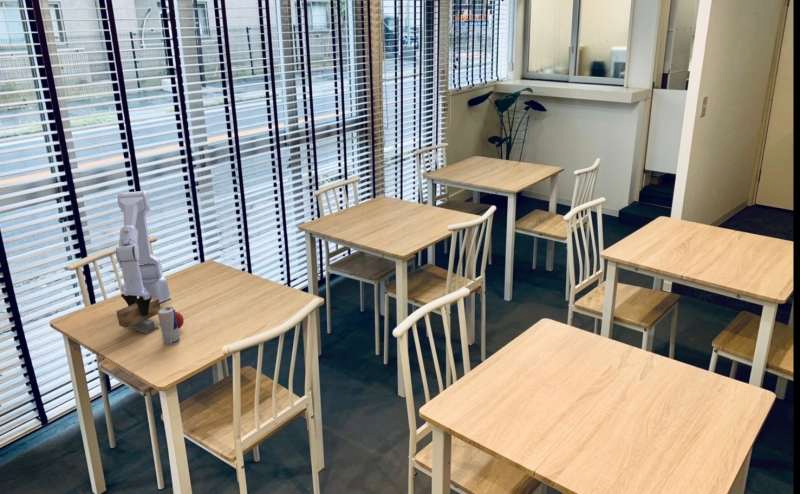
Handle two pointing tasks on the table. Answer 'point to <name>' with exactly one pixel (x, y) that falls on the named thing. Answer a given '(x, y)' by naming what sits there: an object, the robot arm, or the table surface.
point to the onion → (179, 319)
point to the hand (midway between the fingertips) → (139, 313)
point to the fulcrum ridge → (145, 326)
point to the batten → (137, 313)
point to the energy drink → (168, 326)
